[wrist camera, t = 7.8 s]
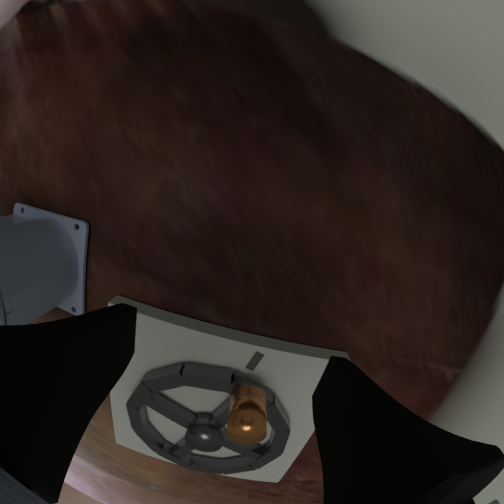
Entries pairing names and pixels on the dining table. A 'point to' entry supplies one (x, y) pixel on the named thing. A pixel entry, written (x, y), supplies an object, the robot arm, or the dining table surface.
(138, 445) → the base plate
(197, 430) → the handwheel
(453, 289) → the dining table surface
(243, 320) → the dining table surface
